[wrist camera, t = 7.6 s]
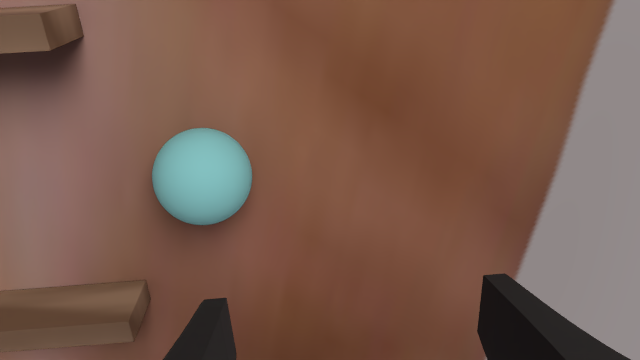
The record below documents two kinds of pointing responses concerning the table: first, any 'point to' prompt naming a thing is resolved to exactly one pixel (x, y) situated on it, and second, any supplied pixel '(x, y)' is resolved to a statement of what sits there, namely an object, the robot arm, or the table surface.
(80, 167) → the table surface
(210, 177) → the ball
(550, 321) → the robot arm
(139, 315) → the shallow wooden tray
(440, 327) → the table surface
